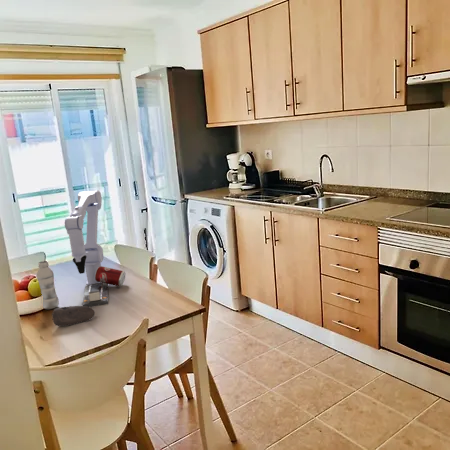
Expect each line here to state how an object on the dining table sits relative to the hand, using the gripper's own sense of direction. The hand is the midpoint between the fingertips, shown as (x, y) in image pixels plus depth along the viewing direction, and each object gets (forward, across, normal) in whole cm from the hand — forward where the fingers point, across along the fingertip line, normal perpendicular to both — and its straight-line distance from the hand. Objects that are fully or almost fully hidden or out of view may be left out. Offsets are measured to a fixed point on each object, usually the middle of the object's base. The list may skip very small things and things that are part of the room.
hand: (82, 273), depth 195 cm
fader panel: (+9, -6, -5) cm, 12 cm away
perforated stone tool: (+10, -32, +2) cm, 33 cm away
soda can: (+6, 0, -17) cm, 18 cm away
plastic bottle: (+10, -12, +13) cm, 20 cm away
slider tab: (+8, -15, -5) cm, 18 cm away
